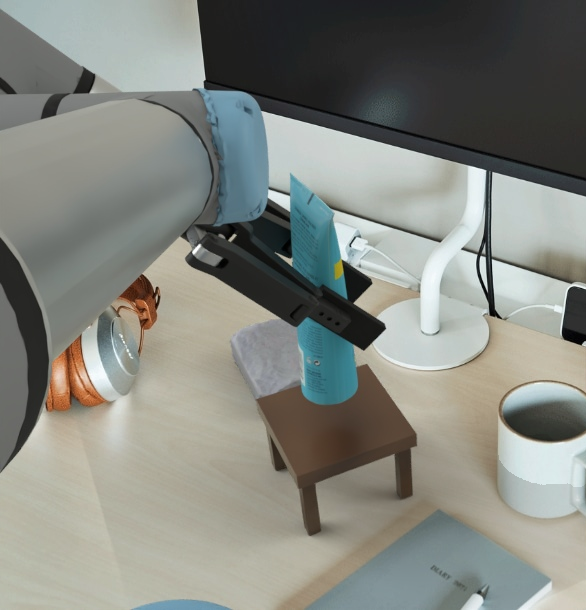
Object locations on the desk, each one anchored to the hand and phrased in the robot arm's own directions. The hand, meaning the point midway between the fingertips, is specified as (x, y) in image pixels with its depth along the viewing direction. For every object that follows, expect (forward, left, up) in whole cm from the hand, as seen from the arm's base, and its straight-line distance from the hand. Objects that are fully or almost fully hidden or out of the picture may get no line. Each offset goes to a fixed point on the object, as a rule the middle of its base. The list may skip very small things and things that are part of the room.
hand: (367, 313), depth 77 cm
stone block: (-3, +18, -19) cm, 26 cm away
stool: (-4, +1, -19) cm, 19 cm away
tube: (-4, +1, -7) cm, 8 cm away
